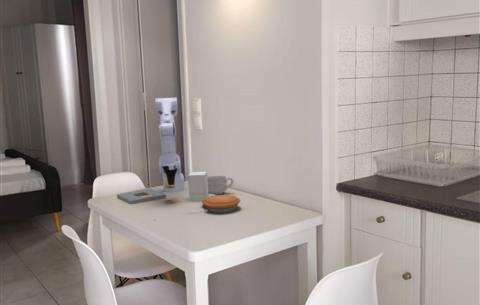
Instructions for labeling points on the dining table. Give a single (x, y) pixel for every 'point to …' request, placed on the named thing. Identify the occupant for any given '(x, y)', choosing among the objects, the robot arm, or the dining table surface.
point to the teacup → (218, 184)
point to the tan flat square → (171, 201)
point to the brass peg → (168, 184)
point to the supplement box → (198, 186)
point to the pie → (221, 203)
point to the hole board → (141, 196)
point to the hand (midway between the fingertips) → (170, 183)
